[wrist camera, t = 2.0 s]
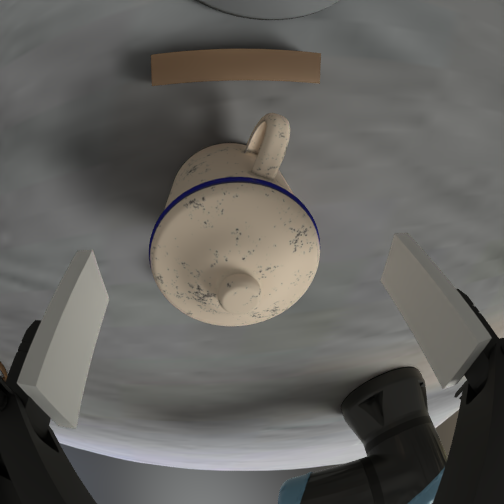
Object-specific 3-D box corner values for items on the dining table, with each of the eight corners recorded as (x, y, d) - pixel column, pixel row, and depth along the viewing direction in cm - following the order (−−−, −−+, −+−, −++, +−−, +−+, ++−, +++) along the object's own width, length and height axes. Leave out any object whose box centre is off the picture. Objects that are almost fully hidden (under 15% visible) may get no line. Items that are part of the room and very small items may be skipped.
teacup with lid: (261, 258, 27) (287, 371, 17) (157, 231, 24) (127, 343, 14) (321, 128, 21) (408, 187, 11) (202, 84, 18) (186, 95, 9)
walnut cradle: (291, 277, 28) (298, 299, 26) (181, 283, 27) (179, 306, 25) (307, 55, 18) (320, 53, 15) (159, 57, 17) (150, 54, 14)
